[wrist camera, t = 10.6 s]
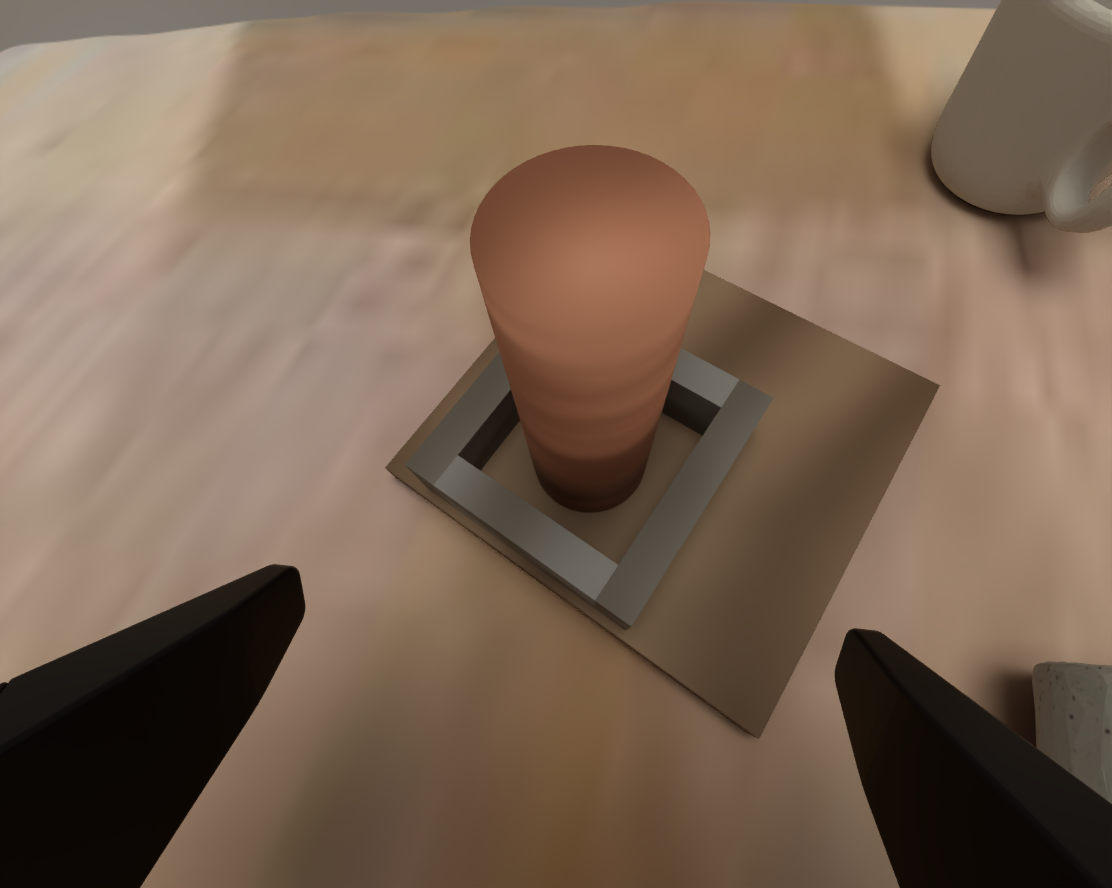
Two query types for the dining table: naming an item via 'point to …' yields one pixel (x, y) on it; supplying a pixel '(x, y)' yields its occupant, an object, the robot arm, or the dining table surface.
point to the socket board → (697, 495)
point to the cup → (1034, 115)
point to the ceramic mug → (1076, 720)
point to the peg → (590, 308)
